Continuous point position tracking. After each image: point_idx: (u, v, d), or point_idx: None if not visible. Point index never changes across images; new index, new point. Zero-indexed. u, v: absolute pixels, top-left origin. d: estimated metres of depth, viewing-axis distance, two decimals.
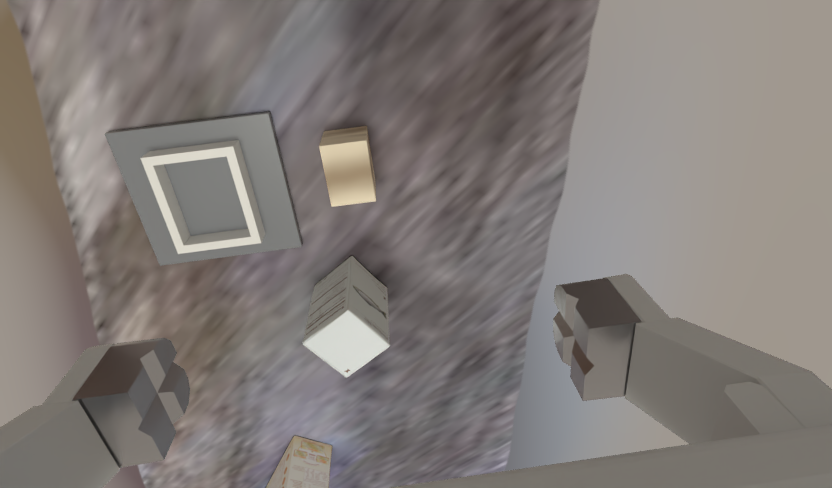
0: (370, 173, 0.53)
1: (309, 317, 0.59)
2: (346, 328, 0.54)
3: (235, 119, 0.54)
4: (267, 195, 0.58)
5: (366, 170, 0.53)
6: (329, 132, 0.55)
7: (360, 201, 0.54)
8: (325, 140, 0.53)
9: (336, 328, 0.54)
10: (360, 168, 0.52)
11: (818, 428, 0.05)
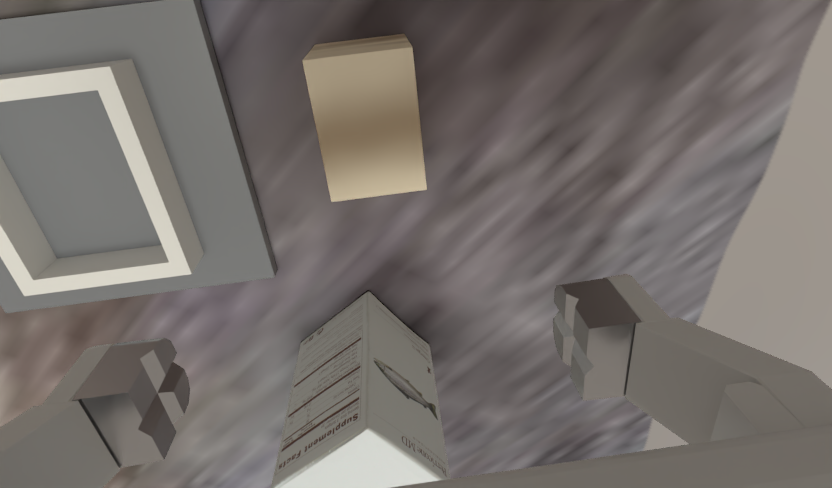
0: (417, 127, 0.24)
1: (288, 419, 0.30)
2: (364, 462, 0.25)
3: (120, 10, 0.24)
4: (202, 179, 0.29)
5: (410, 119, 0.23)
6: (326, 44, 0.26)
7: (393, 190, 0.25)
8: (317, 53, 0.23)
9: (343, 464, 0.25)
10: (396, 116, 0.23)
11: (818, 428, 0.05)
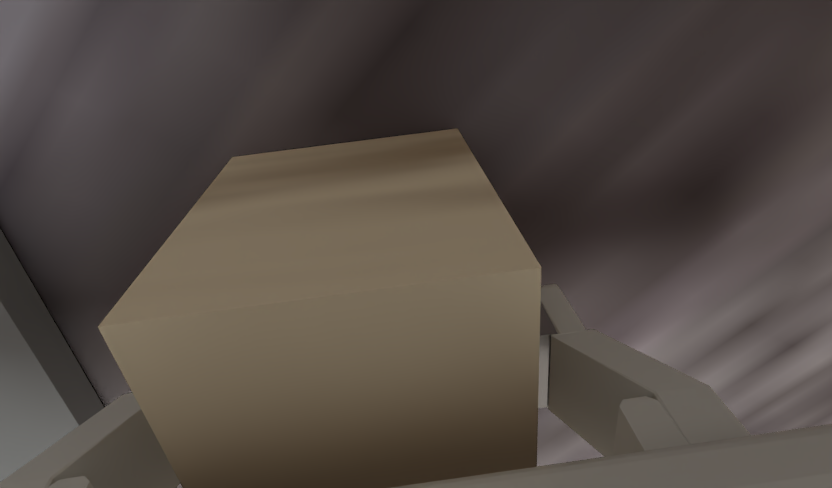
0: None
1: None
2: None
3: None
4: None
5: (506, 461, 0.07)
6: (255, 167, 0.10)
7: None
8: (196, 241, 0.07)
9: None
10: (461, 456, 0.07)
11: (818, 428, 0.05)
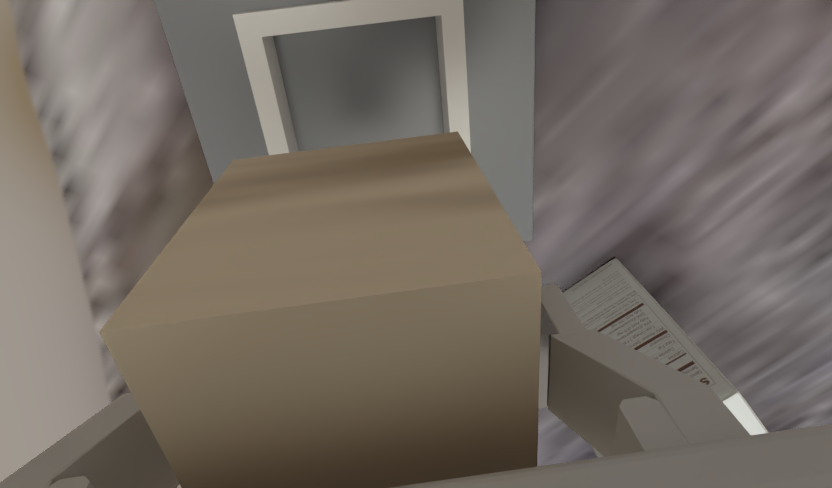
0: None
1: None
2: None
3: None
4: (489, 127, 0.27)
5: (505, 465, 0.07)
6: (256, 170, 0.10)
7: None
8: (197, 244, 0.07)
9: None
10: (461, 461, 0.07)
11: (818, 428, 0.05)
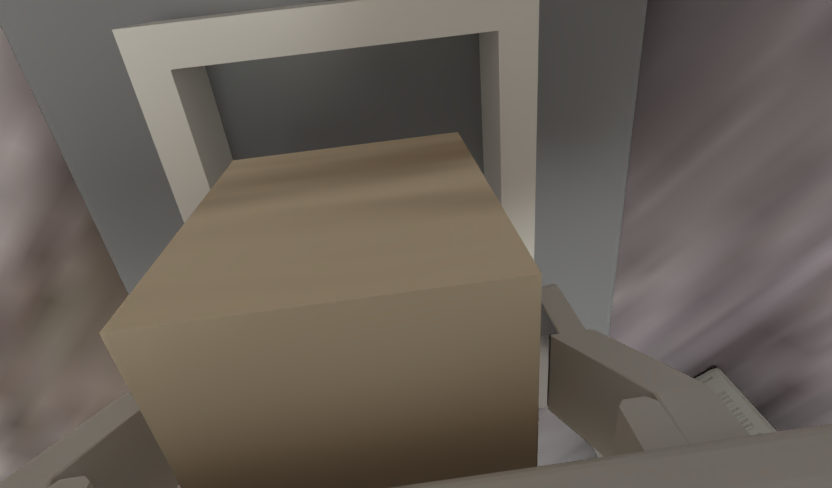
0: None
1: None
2: None
3: None
4: (555, 201, 0.17)
5: (506, 467, 0.07)
6: (256, 171, 0.10)
7: None
8: (197, 246, 0.07)
9: None
10: (462, 462, 0.07)
11: (818, 428, 0.05)
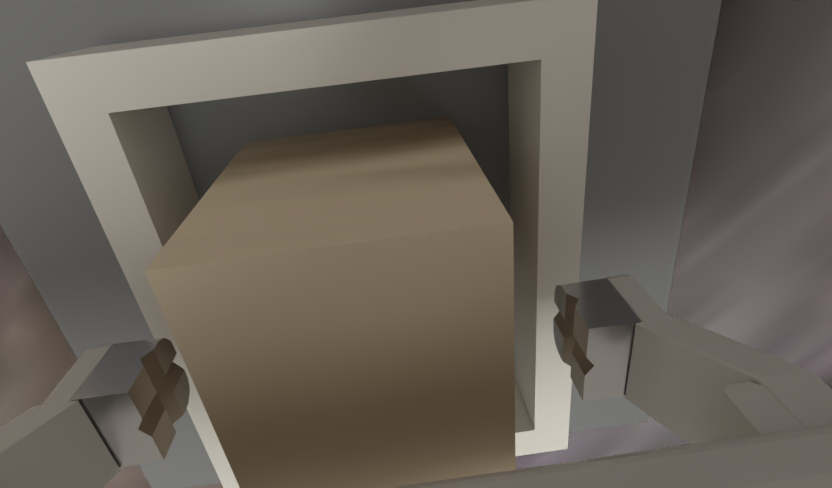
0: (507, 414, 0.08)
1: None
2: None
3: None
4: (595, 255, 0.14)
5: (488, 398, 0.08)
6: (267, 150, 0.11)
7: None
8: (220, 208, 0.08)
9: None
10: (449, 393, 0.08)
11: (818, 428, 0.05)
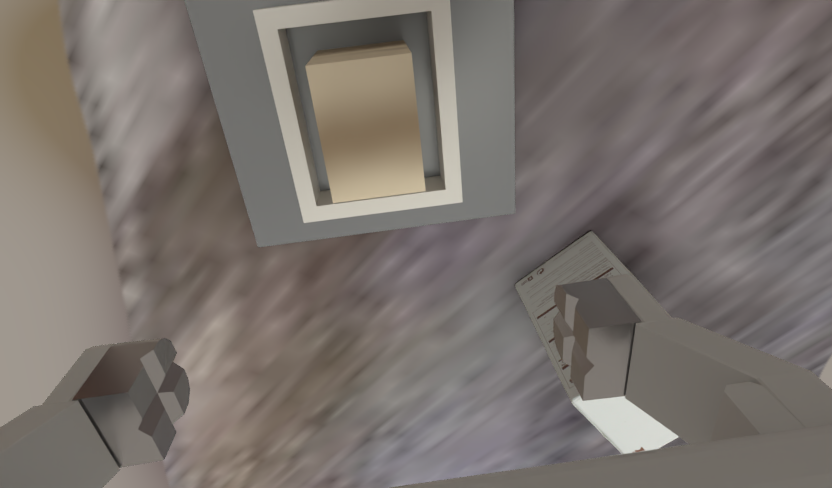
0: (417, 130, 0.24)
1: (550, 344, 0.31)
2: None
3: None
4: (475, 110, 0.30)
5: (409, 123, 0.24)
6: (328, 51, 0.27)
7: (393, 191, 0.26)
8: (319, 59, 0.24)
9: None
10: (396, 120, 0.24)
11: (818, 428, 0.05)
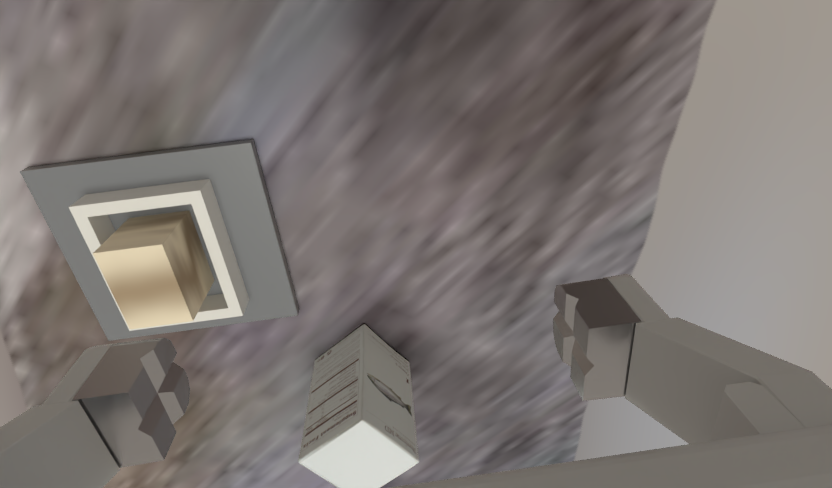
0: (177, 286, 0.37)
1: (308, 415, 0.43)
2: (360, 442, 0.39)
3: (204, 151, 0.38)
4: (251, 251, 0.43)
5: (171, 282, 0.37)
6: (132, 221, 0.39)
7: (170, 322, 0.38)
8: (111, 240, 0.37)
9: (346, 443, 0.39)
10: (161, 281, 0.37)
11: (818, 428, 0.05)
